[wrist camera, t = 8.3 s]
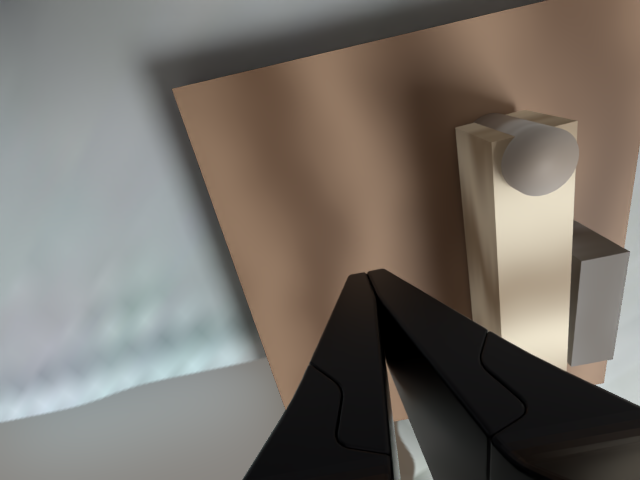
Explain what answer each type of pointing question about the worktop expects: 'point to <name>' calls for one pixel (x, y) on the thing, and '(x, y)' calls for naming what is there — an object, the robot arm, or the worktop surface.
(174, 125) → the worktop surface
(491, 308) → the leg
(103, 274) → the worktop surface
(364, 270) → the seat board
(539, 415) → the robot arm
